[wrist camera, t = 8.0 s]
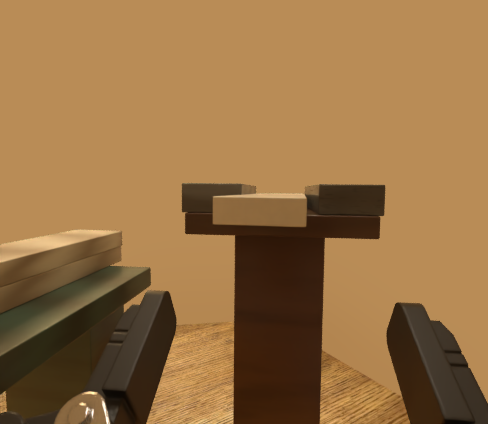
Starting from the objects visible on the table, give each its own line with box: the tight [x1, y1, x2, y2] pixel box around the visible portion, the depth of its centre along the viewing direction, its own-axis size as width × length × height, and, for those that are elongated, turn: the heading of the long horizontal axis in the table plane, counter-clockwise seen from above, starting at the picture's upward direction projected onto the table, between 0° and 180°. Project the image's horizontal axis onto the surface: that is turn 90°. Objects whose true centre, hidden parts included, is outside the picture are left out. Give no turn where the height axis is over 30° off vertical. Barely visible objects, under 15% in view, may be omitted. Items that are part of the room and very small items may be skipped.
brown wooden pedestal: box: [182, 183, 385, 424], centre depth 31 cm, size 14×15×33 cm
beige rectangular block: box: [213, 193, 307, 227], centre depth 26 cm, size 22×5×1 cm, turn 170°
